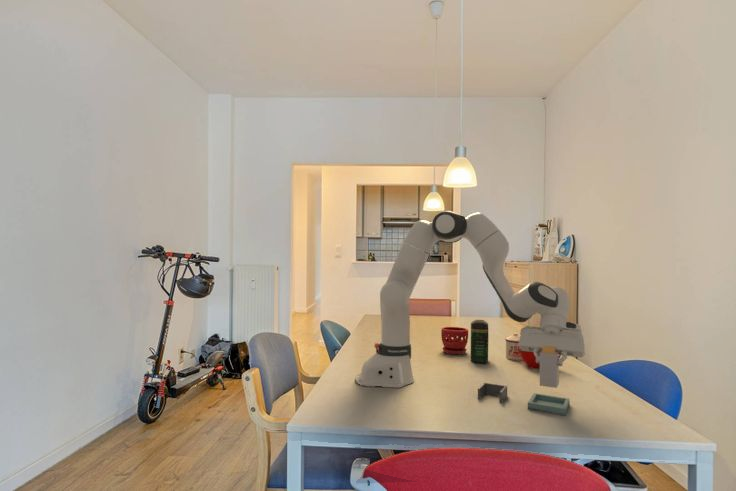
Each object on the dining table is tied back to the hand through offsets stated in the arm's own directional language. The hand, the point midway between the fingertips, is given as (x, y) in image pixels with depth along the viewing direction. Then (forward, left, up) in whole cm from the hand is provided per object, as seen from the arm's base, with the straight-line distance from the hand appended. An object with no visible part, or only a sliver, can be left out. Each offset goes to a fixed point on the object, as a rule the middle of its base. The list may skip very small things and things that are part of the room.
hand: (548, 363), depth 141 cm
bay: (-15, +11, -14) cm, 23 cm away
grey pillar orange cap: (0, +1, -7) cm, 7 cm away
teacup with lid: (+16, +64, -14) cm, 67 cm away
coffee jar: (-4, +60, -14) cm, 61 cm away
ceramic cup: (+19, +48, -14) cm, 53 cm away
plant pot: (-11, +77, -14) cm, 79 cm away
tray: (0, +1, -14) cm, 14 cm away
